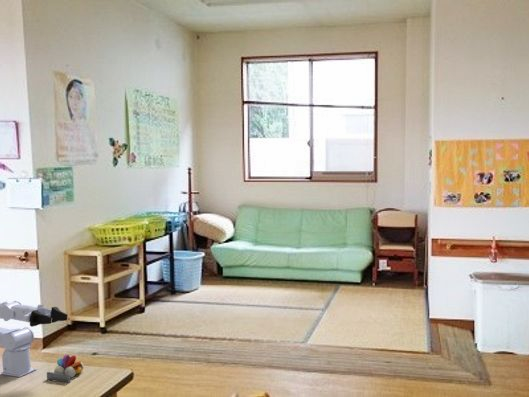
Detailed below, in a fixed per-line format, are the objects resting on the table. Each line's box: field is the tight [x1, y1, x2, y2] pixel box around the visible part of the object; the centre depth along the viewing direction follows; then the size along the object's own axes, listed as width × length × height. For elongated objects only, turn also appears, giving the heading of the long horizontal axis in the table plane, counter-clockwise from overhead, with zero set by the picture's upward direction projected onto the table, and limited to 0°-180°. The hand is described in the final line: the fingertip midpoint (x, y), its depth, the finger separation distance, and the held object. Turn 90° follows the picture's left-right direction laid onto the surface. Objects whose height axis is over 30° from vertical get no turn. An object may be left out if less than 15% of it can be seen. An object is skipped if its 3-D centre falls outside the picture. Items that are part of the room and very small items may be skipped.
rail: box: [46, 371, 71, 384], centre depth 200 cm, size 10×1×2 cm, turn 66°
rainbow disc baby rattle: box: [53, 354, 84, 379], centre depth 206 cm, size 8×10×7 cm
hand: (58, 319), depth 200 cm, fingers open, 7 cm apart
